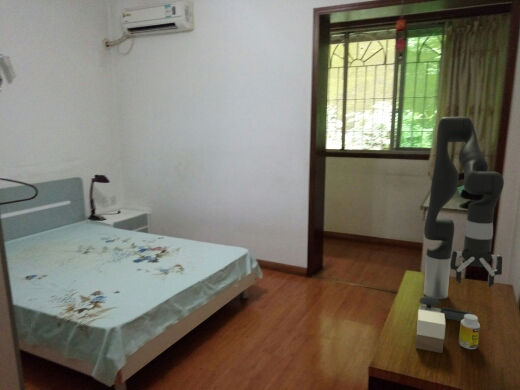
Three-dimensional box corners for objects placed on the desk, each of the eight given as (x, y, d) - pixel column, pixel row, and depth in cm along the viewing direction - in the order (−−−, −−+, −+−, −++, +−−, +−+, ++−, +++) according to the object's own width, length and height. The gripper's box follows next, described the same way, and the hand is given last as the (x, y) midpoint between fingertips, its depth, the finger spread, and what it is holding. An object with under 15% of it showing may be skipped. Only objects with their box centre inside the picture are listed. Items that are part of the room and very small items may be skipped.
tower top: (417, 322, 135) (418, 309, 134) (443, 327, 132) (444, 313, 131) (417, 334, 127) (418, 320, 126) (444, 339, 124) (445, 324, 123)
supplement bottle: (471, 352, 126) (474, 322, 124) (455, 344, 130) (457, 315, 128) (481, 346, 129) (484, 317, 127) (464, 339, 133) (467, 311, 132)
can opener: (417, 314, 151) (419, 299, 150) (419, 309, 156) (420, 293, 155) (474, 325, 143) (475, 309, 142) (473, 319, 147) (475, 303, 146)
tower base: (416, 336, 136) (416, 322, 135) (441, 340, 133) (442, 327, 132) (415, 348, 128) (416, 334, 127) (442, 353, 125) (443, 339, 124)
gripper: (502, 234, 124) (497, 282, 126) (452, 229, 129) (448, 276, 132) (507, 240, 117) (501, 292, 120) (453, 235, 122) (449, 285, 125)
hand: (473, 283), depth 126 cm, fingers open, 8 cm apart
